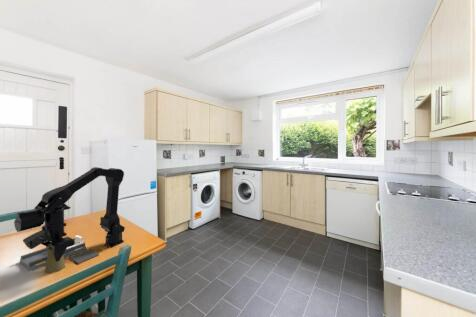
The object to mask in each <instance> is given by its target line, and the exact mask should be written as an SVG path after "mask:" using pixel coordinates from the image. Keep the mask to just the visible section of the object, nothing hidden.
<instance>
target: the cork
mask: <svg viewBox="0 0 476 317" xmlns="http://www.w3.org/2000/svg"><path fill="white" fill-rule="evenodd" d="M50 247H51V243H50V244H48V245H47V247H46V246H45V248H46V251H47V252H48V256H47V262H46V266H45V268H44V269H45V270H44V271H45V272H44V273H45V274H55V273H57V272H61V271H62V270H63V269H65V267H66V264H65V263H66V262H65V258H64V257H63V255H62V257H61V259H60V260H59V261H57V262H56V260H55V256H54V252H53V251H52V250H50V249H48V248H50Z"/></svg>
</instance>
